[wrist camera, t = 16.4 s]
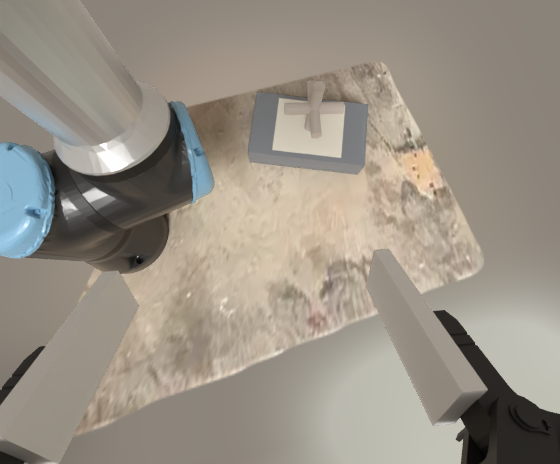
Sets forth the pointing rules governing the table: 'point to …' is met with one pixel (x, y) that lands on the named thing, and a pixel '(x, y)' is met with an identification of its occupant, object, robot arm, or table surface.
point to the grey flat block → (307, 136)
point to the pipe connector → (314, 107)
